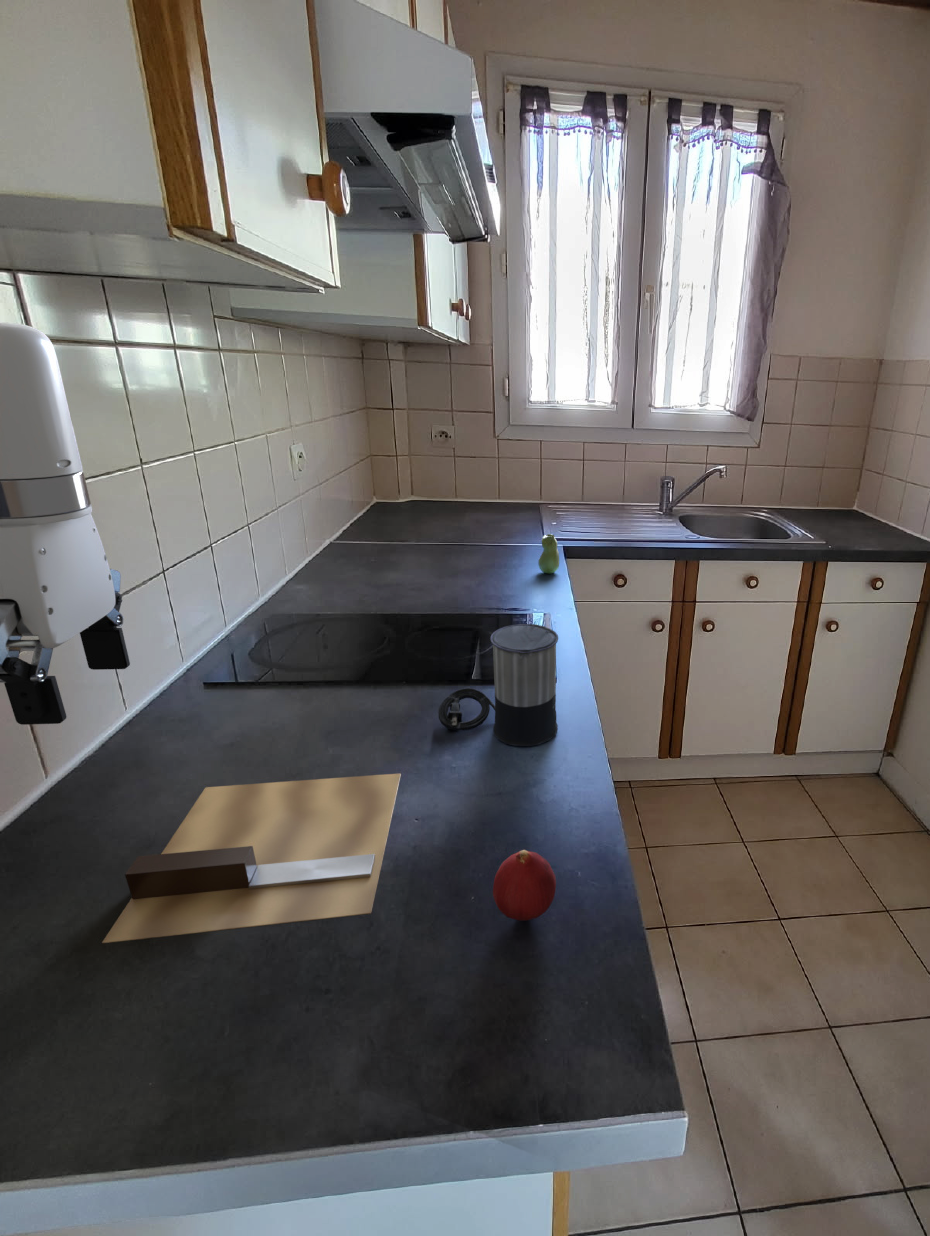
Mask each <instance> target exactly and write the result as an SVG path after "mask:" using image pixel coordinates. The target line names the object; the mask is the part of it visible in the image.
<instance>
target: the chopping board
mask: <svg viewBox="0 0 930 1236" xmlns="http://www.w3.org/2000/svg"><path fill="white" fill-rule="evenodd" d="M401 776H402V773H401V772H400V773H399V772H398V773H387V774H373V775H371V774H370V775H359V776H345V777H344V776H343V777H332V778H331V777H330V778H317V779H303V780H290V781H276V782H262V783H261V782H260V783H248V784H233V785H220V786H219V785H218V786H205V787H204V789H203V791H202V792H201V793H200V795H199V796H198V798H197V799H196V801H195V802H194V803H193V805H192V806H191V808H190V810H189V811H188V812H187V814H186V816H185V817H184V818H183V820H182V822H181V823H180V825H179V827H178V828H177V829H176V831H175V832H174V833H173V835H172V837H171V838H170V839H169V841H168V843H167V844H166V845H165V847H164V849H163V850H162V851H161V853H160V854H169V853H180V852H191V851H202V850H213V849H225V848H236V847H247V846H253V850H254V855H255V859H256V864H257V866H258V865H263V864H274V863H284V862H295V861H305V860H316V859H326V858H337V857H347V856H358V855H369V854H375V860H374V864H373V868H372V873H371V877H363V878H353V879H343V880H333V881H323V882H313V883H303V884H293V885H283V886H274V887H264V888H254V889H249V888H242V889H232V890H222V891H212V892H202V893H192V894H182V895H172V896H162V897H152V898H143V899H132V897H131V898H130V899H129V901H128V902H127V904H126V906H125V907H124V909H123V910H122V911H121V913H120V915H119V916H118V918H117V919H116V920H115V922H114V924H113V925H112V927H111V928H110V930H109V931H108V933H107V934H106V935H105V937H104V939H103V940H102V942H101V943H102V944H108V943H118V942H126V941H134V940H144V939H145V940H146V939H154V938H162V937H163V938H164V937H171V936H172V937H173V936H179V935H190V934H199V933H208V932H218V931H225V930H226V931H227V930H234V929H235V930H236V929H243V928H254V927H260V926H261V927H263V926H271V925H280V924H287V923H288V924H289V923H290V924H291V923H298V922H299V923H300V922H307V921H315V920H316V921H317V920H324V919H325V920H327V919H334V918H343V917H353V916H362V915H371V914H372V912H373V908H374V903H375V899H376V898H375V897H376V893H377V888H378V884H379V878H380V874H381V870H382V865H383V862H384V861H383V860H384V856H385V851H386V846H387V841H388V837H389V833H390V832H389V831H390V827H391V823H392V818H393V814H394V809H395V806H396V805H395V804H396V799H397V795H398V790H399V785H400V782H401Z"/></svg>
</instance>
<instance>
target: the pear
mask: <svg viewBox="0 0 930 1236" xmlns="http://www.w3.org/2000/svg"><path fill="white" fill-rule="evenodd" d="M558 544H559V543H558V541H557V539H556V537H555V534H552V533H548V534H544V535H543V536H542V539H541V547H542V550H543V551H541V552H542V553H541V555H540V557H539V558H538V562H537V565H538V568H539V570H540V571H541V572H542V573H545V574H554V573H555V572H556V571H557V572H558V569H559V567H560V552H559V550H558Z"/></svg>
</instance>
